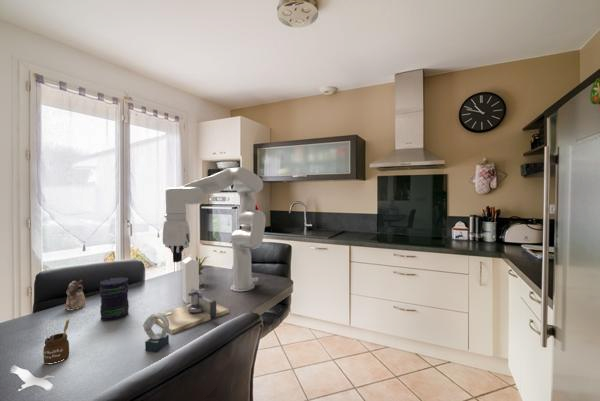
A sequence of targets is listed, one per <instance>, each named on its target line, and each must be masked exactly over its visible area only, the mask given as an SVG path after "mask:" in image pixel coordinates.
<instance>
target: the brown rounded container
mask: <svg viewBox="0 0 600 401" xmlns="http://www.w3.org/2000/svg"><path fill="white" fill-rule="evenodd" d="M69 323H70V318H69V319H67V320H66V321H65V325H64V328H63V332H60V333H56V328H55V326H53V325H49V324H47V325H45V327H44V329H43V331H44V334H45V337H46V338H45V339H44V344H45V345H44V346H43V350H42V351H43V353H42V354H43V363H44V364H45V363H54V362H58V361H61V360H63V359H65V358H66V357H69V355H70V342H69V339H68V334H67V333H66V332H67V330H68V327H69ZM48 326H49V328H52V329H51V331H49V329H48ZM45 329H46V330H45ZM47 329H48V331H47ZM46 331H47V332H46ZM49 332H51V335H49ZM48 335H49V336H48ZM65 360H66V359H65Z"/></svg>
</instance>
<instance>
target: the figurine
mask: <svg viewBox="0 0 600 401" xmlns="http://www.w3.org/2000/svg"><path fill="white" fill-rule="evenodd" d="M82 282H83V280H82V279H80V280H79V281H76V280H72V282H70V283H69V285H68V287H67V289H66V292H65V293H66V294H67V297H66V300H65V301H66V303H65V307H64V310H65V309H70V310H71V309H77V308H80V309H82V308H84V307H85V306H86V297H85V295H84V294H85V293H84V292H83V290H84V286H83V284H82ZM79 288H80V289H79ZM84 305H85V306H84ZM83 306H84V307H83ZM81 307H82V308H81ZM77 310H78V309H77Z"/></svg>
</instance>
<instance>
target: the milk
mask: <svg viewBox="0 0 600 401" xmlns="http://www.w3.org/2000/svg"><path fill="white" fill-rule="evenodd" d="M181 261H182V262H181V266H182V272H181V273H182V302H184V303H185V305H188V304H191V296H188V293H189V292H191V289H196V290H199V289H200V285H199V260H198V261H197V260H196V258H193V255H192V254H190V253H188V257H186V258H184V260H183V259H182V260H181Z"/></svg>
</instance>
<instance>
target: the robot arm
mask: <svg viewBox="0 0 600 401" xmlns="http://www.w3.org/2000/svg"><path fill="white" fill-rule="evenodd" d="M233 185H234V189H235V191H236V192H237V194H238V195H239V196H238V197H239V199H240V204H239V209H238V215H237V224H238V226H240V227H242V229H241V228H239V229H236V230H234V231H233V232H232V233H231V236H230V242H231V243H230V244H231V247H232V258H233V259H232V262H233V263H232V267H233V268H232V269H233V270H232V272H233V275H232V276H233V281H232V282H233V283H232V284H231V285H230V291H233V292H240V293H241V292H248V291H251V290H253V289H255V284H254V282H258V281H259V277H252V253H251V250H250V249H252V250H253V249H255V250H256V249H258V248H260V247H261V246H262V244H263V240H264V235H265V228H266V222H267V220H266V215H265V213H264V212H263V211H262V210H259V209H256V205H257V200H256V196H255V195H254V193H259V192H261V191H262V189H263V187H264V182H263V180H262V178H261V177H260V176H259V175H258V174H256V173H254V172H252V171H251V170H249V169H247V168H246V167H243V166H242V167H241V166H238V167H228V168H225V169H223V170H221V171H219V172H216V173H214V174H212V175H210V176H206V177H203V178H201V179H198V180H194V181H191V182H188V183H187V184H183V185H181V186H180V187H167V188H166V189H165V214H164V218H166V219H165V221H164V223H163V227H162V228H163V229H162V244H163V245H164V247H165V248H168V249H170V252H171V253H172V260H173V263H179V262H181V261H183V259H182V256H183V254H182V253H183V251H184V250H185V249H187V248H190V243H191V235H190V234H191V233H190V226H189V223H188V220H187V205H199V204H201V203H203V202H204V200H205V199H206V195H212V194H218V193H220V192H222V191H224V190H225V189H227V188H230V187H231V186H233ZM245 228H250V229H245Z"/></svg>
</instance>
